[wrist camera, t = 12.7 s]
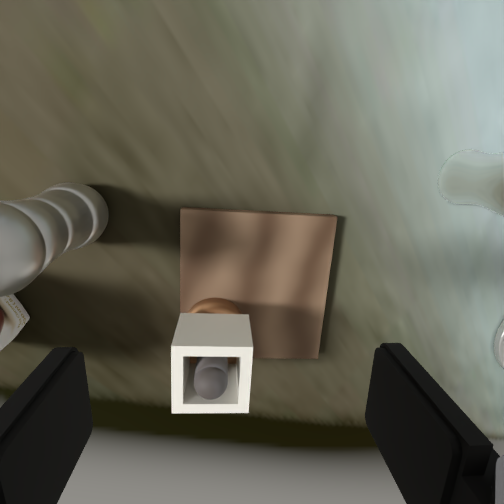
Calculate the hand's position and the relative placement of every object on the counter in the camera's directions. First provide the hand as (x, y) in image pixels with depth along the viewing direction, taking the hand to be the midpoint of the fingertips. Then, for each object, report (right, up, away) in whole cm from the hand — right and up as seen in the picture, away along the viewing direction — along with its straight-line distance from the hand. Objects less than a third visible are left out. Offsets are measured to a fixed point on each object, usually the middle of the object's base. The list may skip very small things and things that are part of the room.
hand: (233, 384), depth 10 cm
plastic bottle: (-18, +9, +25) cm, 32 cm away
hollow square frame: (-3, -5, +24) cm, 25 cm away
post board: (+1, 0, +29) cm, 29 cm away
